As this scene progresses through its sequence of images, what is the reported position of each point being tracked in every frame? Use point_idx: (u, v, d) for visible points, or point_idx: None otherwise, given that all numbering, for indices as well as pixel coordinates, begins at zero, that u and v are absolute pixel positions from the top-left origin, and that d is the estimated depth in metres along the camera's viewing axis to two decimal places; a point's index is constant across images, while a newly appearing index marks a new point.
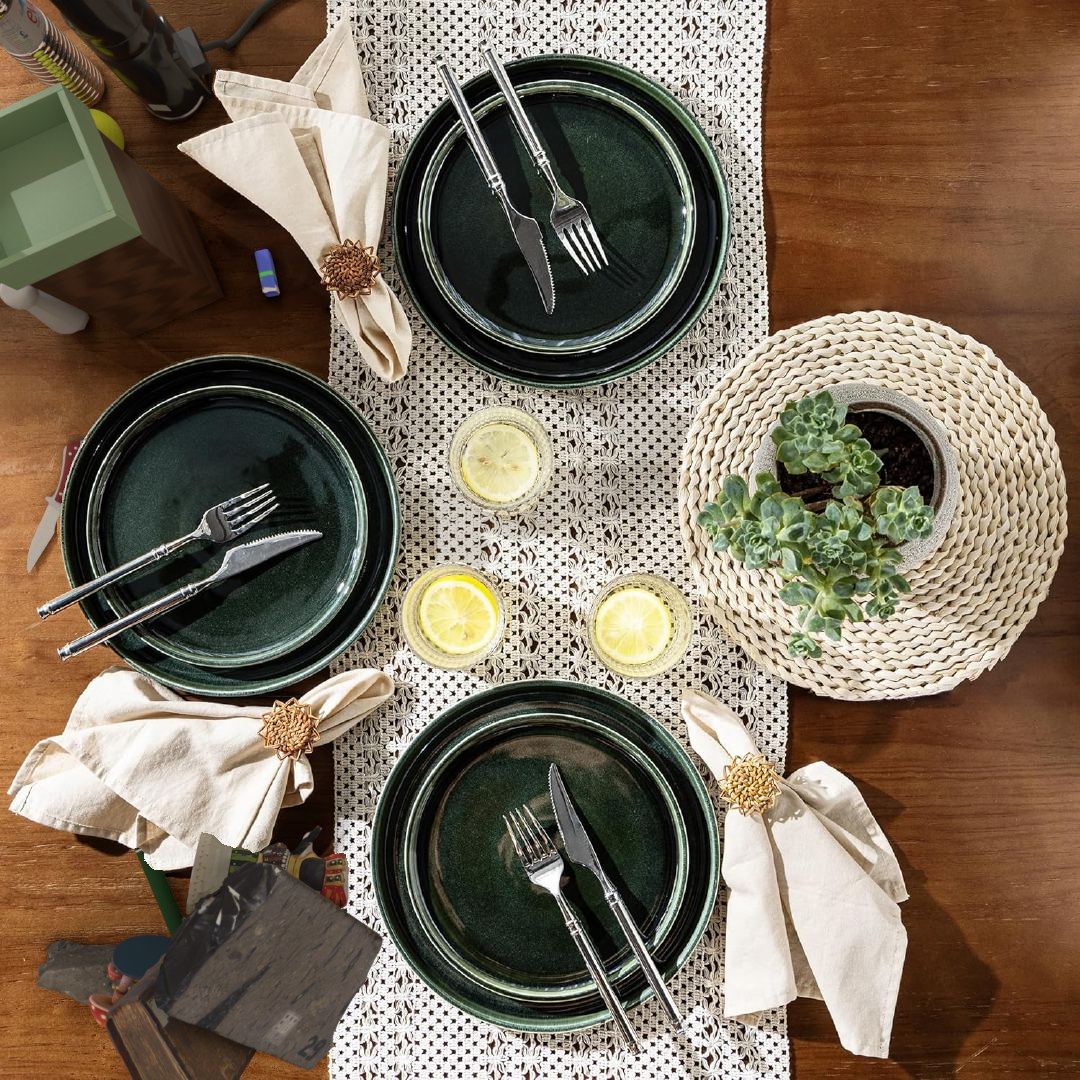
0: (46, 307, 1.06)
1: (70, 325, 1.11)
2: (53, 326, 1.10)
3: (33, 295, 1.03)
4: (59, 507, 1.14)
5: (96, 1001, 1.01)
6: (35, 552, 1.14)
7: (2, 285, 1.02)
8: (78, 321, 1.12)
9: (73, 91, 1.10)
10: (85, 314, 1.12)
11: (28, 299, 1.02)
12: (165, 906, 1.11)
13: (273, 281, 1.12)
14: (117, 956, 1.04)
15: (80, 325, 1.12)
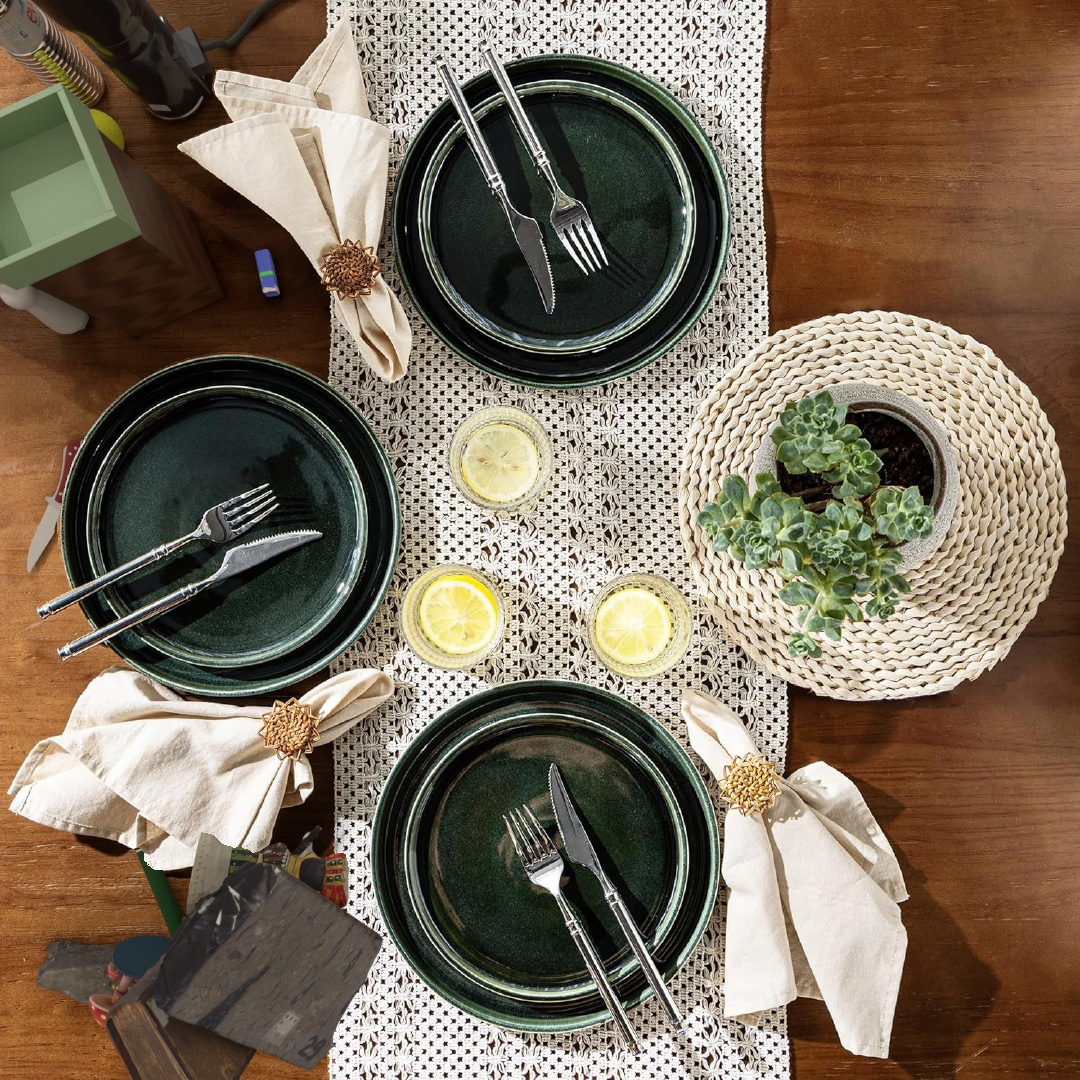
0: (46, 307, 1.06)
1: (70, 325, 1.11)
2: (53, 326, 1.10)
3: (33, 295, 1.03)
4: (59, 507, 1.14)
5: (96, 1002, 1.01)
6: (35, 552, 1.14)
7: (2, 285, 1.02)
8: (78, 321, 1.12)
9: (73, 91, 1.10)
10: (85, 314, 1.12)
11: (28, 299, 1.02)
12: (165, 906, 1.11)
13: (273, 281, 1.12)
14: (117, 956, 1.04)
15: (80, 325, 1.12)
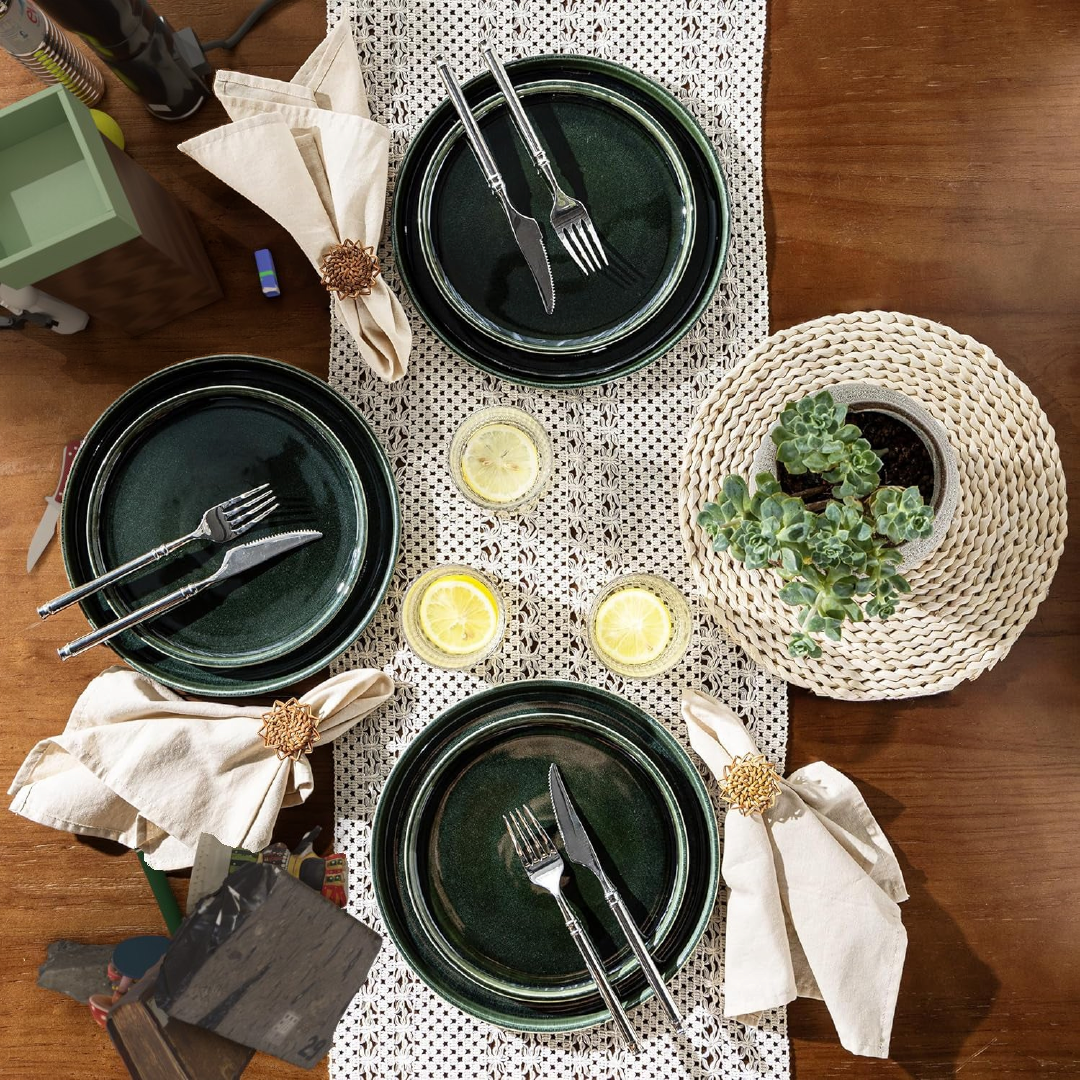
0: (47, 307, 1.06)
1: (70, 325, 1.11)
2: (53, 326, 1.10)
3: (33, 295, 1.03)
4: (59, 507, 1.14)
5: (96, 1002, 1.01)
6: (35, 552, 1.14)
7: (2, 285, 1.02)
8: (78, 321, 1.12)
9: (73, 91, 1.10)
10: (85, 314, 1.13)
11: (28, 299, 1.02)
12: (165, 906, 1.11)
13: (273, 281, 1.12)
14: (117, 957, 1.04)
15: (80, 325, 1.12)
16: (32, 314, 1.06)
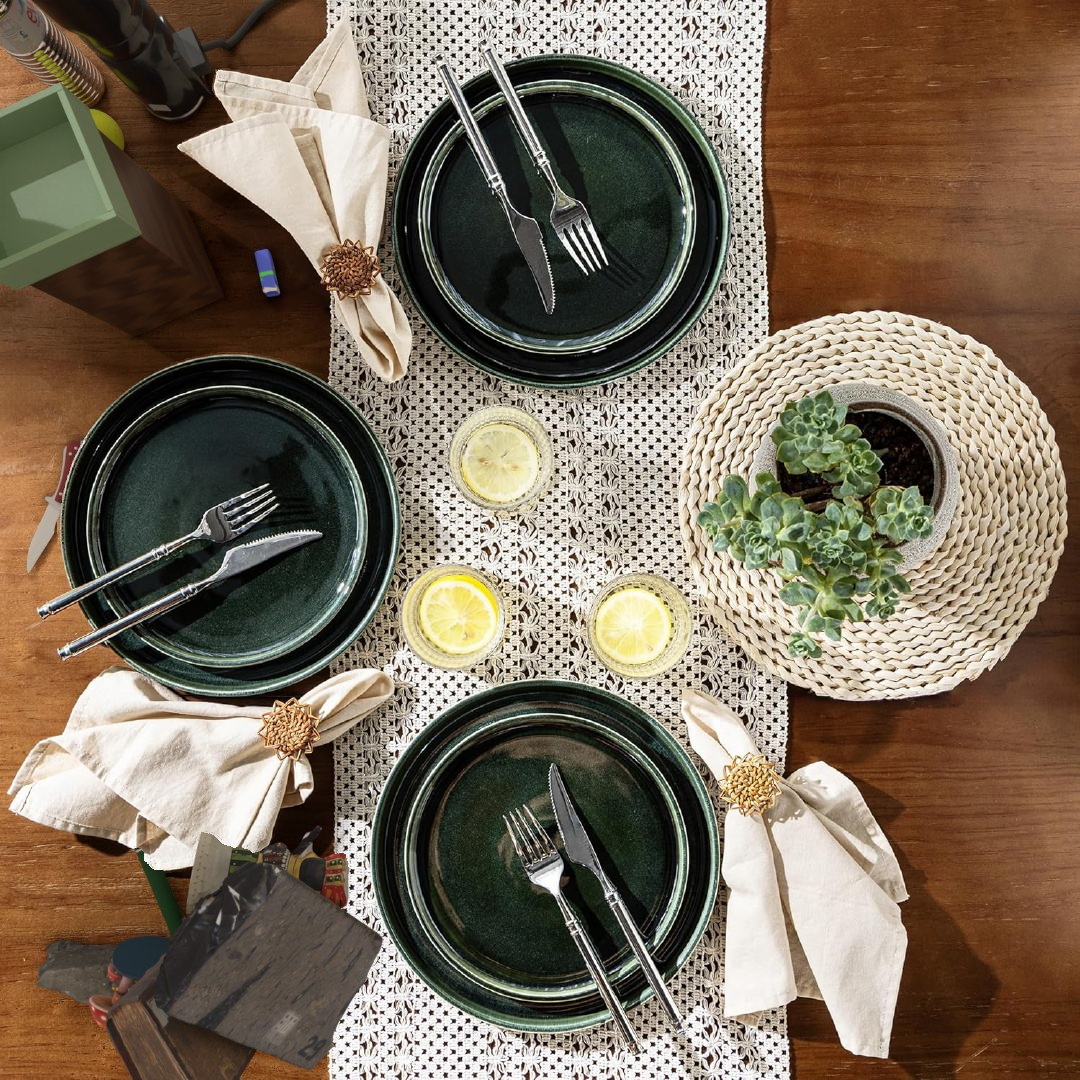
0: None
1: None
2: None
3: None
4: (59, 507, 1.14)
5: (96, 1003, 1.01)
6: (34, 552, 1.14)
7: None
8: None
9: (73, 91, 1.10)
10: None
11: None
12: (165, 906, 1.11)
13: (273, 281, 1.12)
14: (117, 957, 1.04)
15: None
16: None
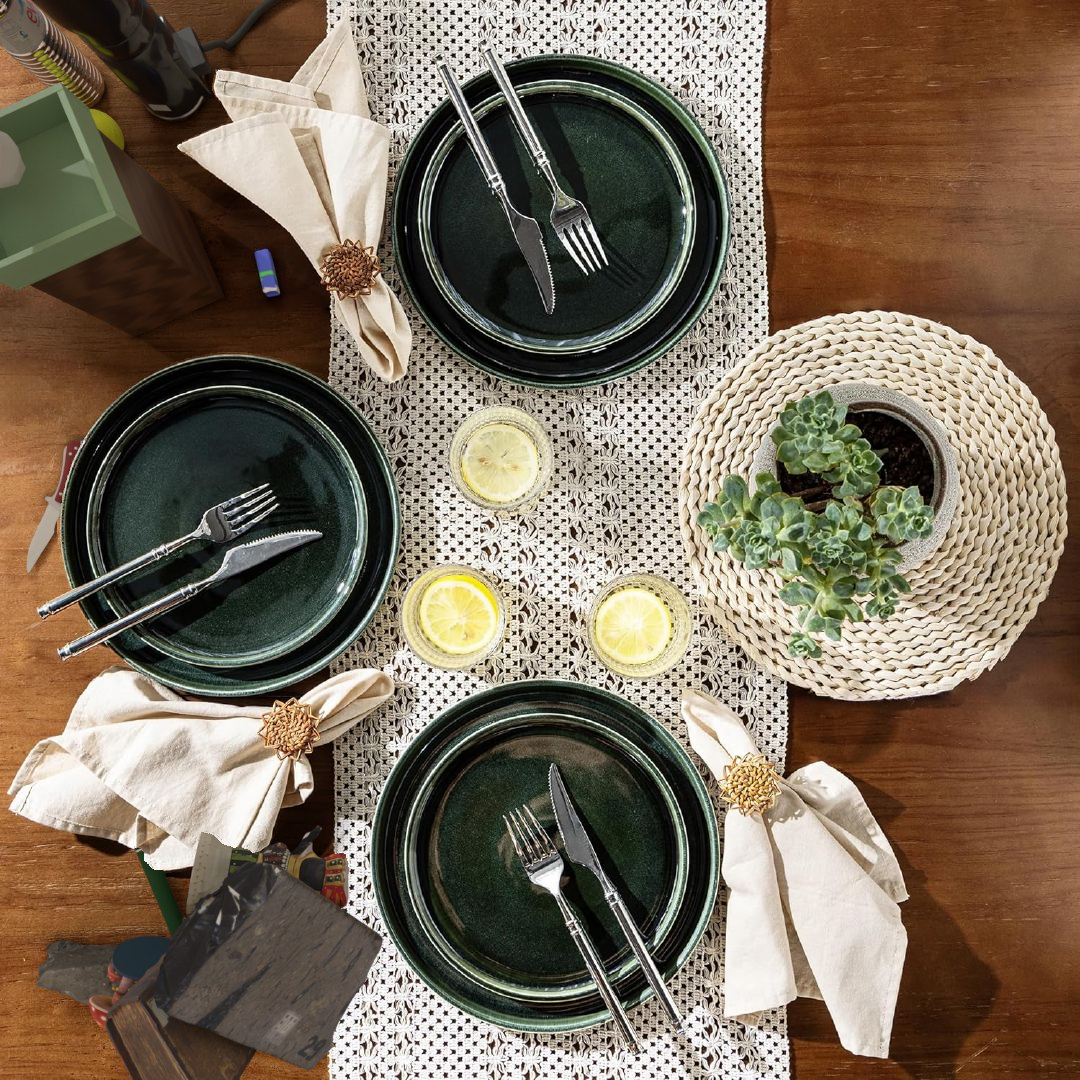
0: None
1: None
2: None
3: None
4: (59, 507, 1.14)
5: (96, 1003, 1.01)
6: (34, 552, 1.14)
7: None
8: (9, 168, 0.80)
9: (73, 91, 1.10)
10: (18, 159, 0.81)
11: None
12: (165, 906, 1.11)
13: (273, 281, 1.12)
14: (117, 958, 1.04)
15: (11, 174, 0.81)
16: None
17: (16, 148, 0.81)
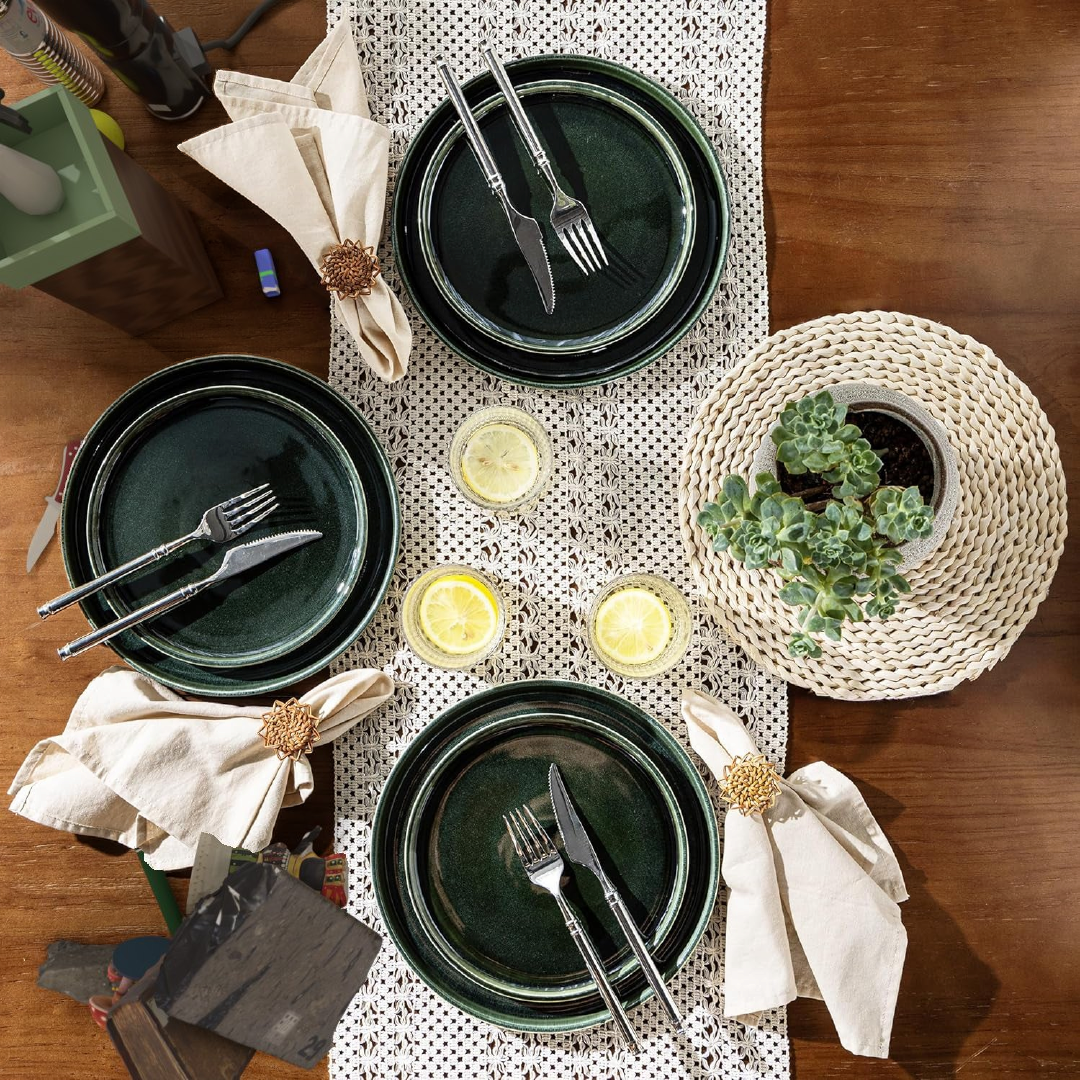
0: (8, 170, 0.81)
1: (41, 201, 0.86)
2: (18, 201, 0.85)
3: None
4: (59, 507, 1.14)
5: (96, 1003, 1.01)
6: (34, 552, 1.14)
7: None
8: (51, 197, 0.87)
9: (73, 91, 1.10)
10: (60, 189, 0.88)
11: None
12: (165, 906, 1.11)
13: (273, 281, 1.12)
14: (117, 958, 1.04)
15: (54, 203, 0.87)
16: None
17: (58, 179, 0.87)
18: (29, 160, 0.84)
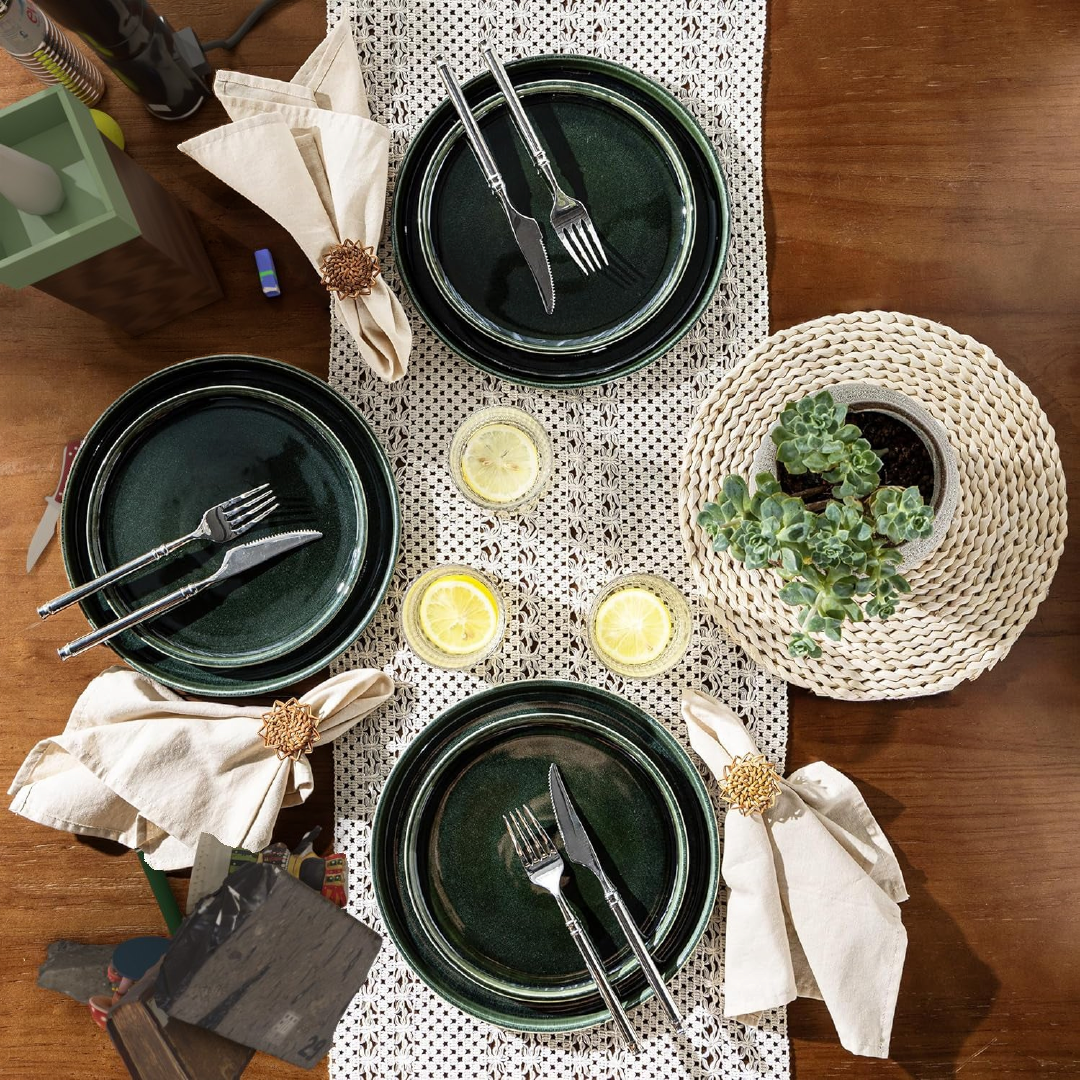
0: (8, 170, 0.81)
1: (41, 201, 0.86)
2: (18, 201, 0.85)
3: None
4: (59, 507, 1.14)
5: (95, 1003, 1.01)
6: (34, 552, 1.14)
7: None
8: (51, 197, 0.87)
9: (73, 91, 1.10)
10: (60, 189, 0.88)
11: None
12: (165, 906, 1.11)
13: (273, 281, 1.12)
14: (117, 958, 1.04)
15: (54, 203, 0.87)
16: None
17: (58, 179, 0.87)
18: (29, 160, 0.84)
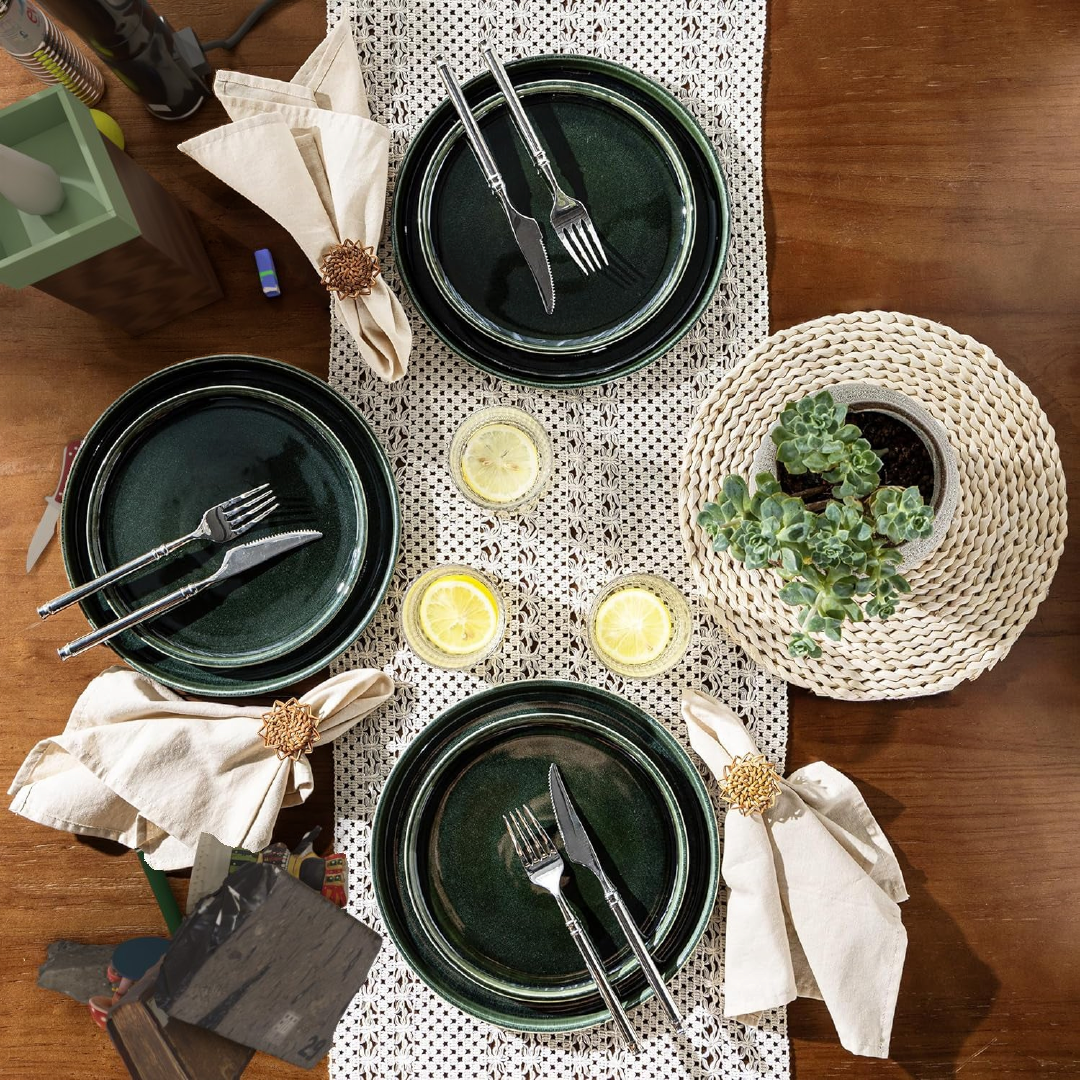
0: (8, 170, 0.81)
1: (41, 201, 0.86)
2: (18, 201, 0.85)
3: None
4: (59, 507, 1.14)
5: (95, 1004, 1.01)
6: (34, 552, 1.14)
7: None
8: (51, 197, 0.87)
9: (73, 91, 1.10)
10: (60, 189, 0.88)
11: None
12: (165, 906, 1.11)
13: (273, 281, 1.12)
14: (116, 958, 1.04)
15: (54, 203, 0.87)
16: None
17: (58, 179, 0.87)
18: (29, 160, 0.84)
